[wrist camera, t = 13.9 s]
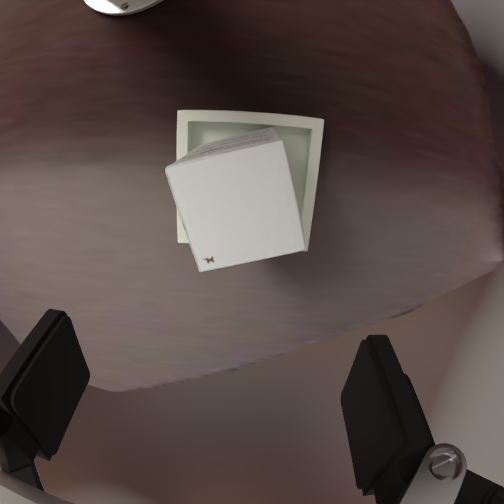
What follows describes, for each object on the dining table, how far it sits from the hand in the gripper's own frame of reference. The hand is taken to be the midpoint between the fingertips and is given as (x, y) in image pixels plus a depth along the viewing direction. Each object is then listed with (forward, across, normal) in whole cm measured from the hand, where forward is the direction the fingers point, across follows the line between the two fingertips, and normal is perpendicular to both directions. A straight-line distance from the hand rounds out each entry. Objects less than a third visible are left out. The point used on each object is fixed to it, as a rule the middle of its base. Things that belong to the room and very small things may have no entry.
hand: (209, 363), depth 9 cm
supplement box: (+24, 0, -1) cm, 24 cm away
